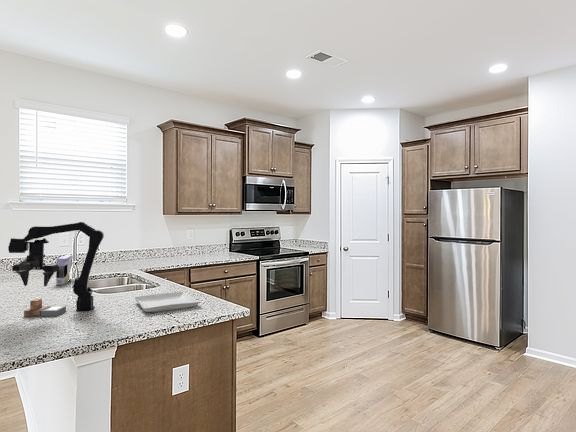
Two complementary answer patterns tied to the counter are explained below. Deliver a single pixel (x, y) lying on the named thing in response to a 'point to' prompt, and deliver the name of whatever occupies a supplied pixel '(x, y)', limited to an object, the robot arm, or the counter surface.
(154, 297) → the square plate
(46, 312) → the board
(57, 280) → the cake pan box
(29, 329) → the counter surface
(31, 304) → the block on square base
